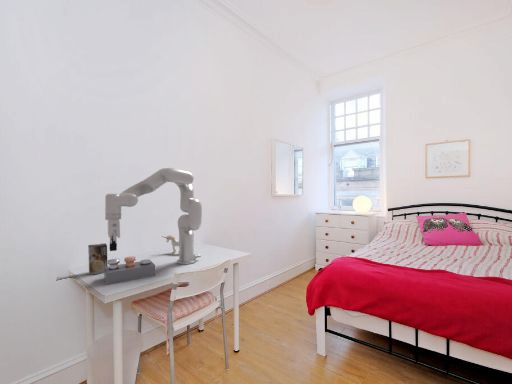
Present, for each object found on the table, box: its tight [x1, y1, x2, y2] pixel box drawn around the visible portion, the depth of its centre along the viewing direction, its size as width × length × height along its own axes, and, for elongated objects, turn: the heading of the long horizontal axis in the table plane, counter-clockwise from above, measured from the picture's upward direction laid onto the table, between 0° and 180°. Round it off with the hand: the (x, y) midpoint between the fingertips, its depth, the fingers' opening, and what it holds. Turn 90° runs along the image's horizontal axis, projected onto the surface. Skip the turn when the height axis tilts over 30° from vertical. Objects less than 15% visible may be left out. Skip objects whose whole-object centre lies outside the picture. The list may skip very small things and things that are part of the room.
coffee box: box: [87, 242, 109, 276], centre depth 152 cm, size 9×6×16 cm
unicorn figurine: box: [161, 234, 179, 254], centre depth 195 cm, size 7×20×13 cm, turn 87°
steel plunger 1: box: [107, 258, 121, 270], centre depth 141 cm, size 6×6×6 cm
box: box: [103, 260, 156, 285], centre depth 145 cm, size 24×12×6 cm, turn 125°
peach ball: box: [124, 256, 137, 268], centre depth 145 cm, size 6×6×6 cm
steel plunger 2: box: [139, 258, 152, 265], centre depth 150 cm, size 6×6×6 cm
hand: (113, 250), depth 140 cm, fingers closed
